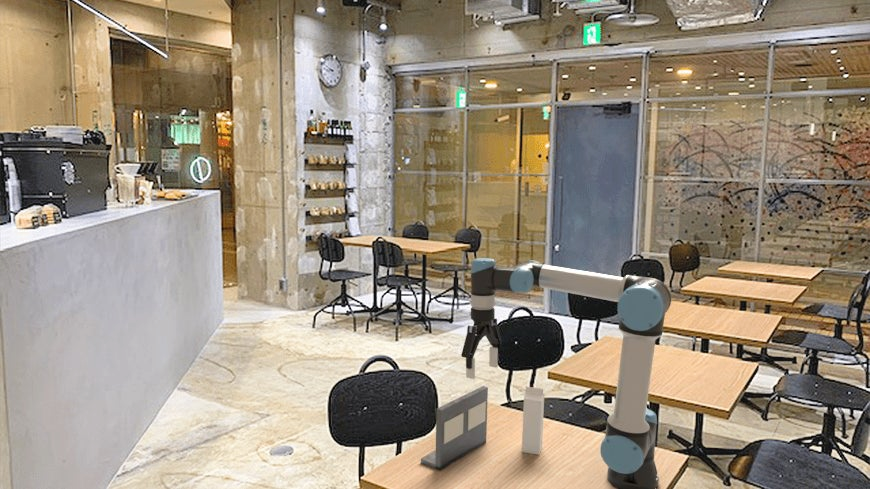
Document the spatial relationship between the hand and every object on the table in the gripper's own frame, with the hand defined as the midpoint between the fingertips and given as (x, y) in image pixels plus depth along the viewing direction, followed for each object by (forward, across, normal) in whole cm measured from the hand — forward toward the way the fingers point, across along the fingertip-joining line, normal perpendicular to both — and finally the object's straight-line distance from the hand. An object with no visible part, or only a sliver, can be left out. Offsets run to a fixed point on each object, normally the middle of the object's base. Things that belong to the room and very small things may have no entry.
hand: (482, 372), depth 200 cm
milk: (+30, -18, +9) cm, 36 cm away
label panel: (+30, 0, -10) cm, 32 cm away
